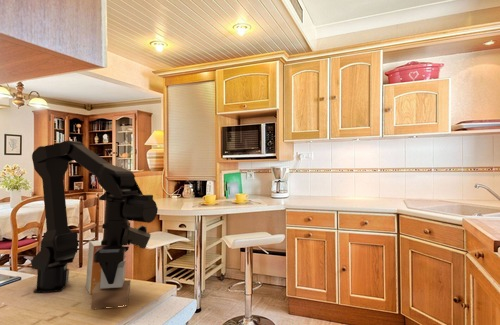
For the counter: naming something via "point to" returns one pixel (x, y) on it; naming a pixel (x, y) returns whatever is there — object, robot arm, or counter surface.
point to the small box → (93, 266)
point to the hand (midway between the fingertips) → (112, 280)
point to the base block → (110, 296)
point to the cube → (118, 278)
